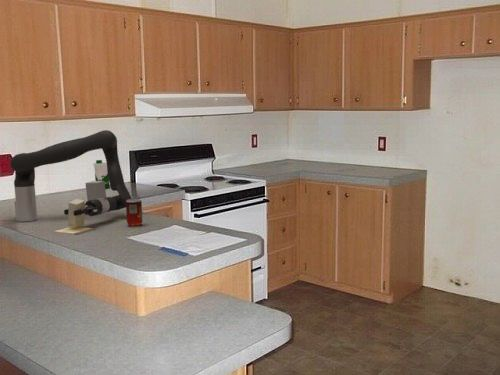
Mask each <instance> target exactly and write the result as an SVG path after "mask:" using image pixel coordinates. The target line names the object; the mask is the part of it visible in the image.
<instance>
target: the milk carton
mask: <svg viewBox="0 0 500 375" xmlns="http://www.w3.org/2000/svg"><path fill="white" fill-rule="evenodd" d="M93 167H94V178H95V180H94V181H104V183H105V190H108V189H111V187H110V183H109V178H108V172H107V162H103V160H102V159H98V160H97V159H96V160H95V163H93Z"/></svg>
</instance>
